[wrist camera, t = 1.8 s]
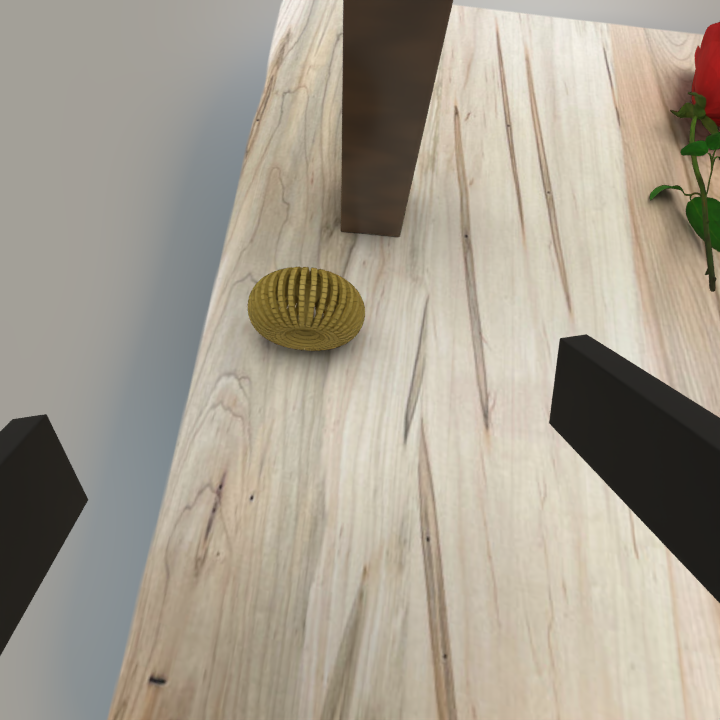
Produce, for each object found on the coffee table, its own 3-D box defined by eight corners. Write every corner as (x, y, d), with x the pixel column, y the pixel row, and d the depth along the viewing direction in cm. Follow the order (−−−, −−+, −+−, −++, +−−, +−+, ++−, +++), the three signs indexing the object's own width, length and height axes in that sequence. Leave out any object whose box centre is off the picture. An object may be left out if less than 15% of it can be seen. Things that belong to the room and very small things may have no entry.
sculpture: (255, 355, 33) (231, 310, 26) (261, 307, 35) (240, 250, 27) (360, 360, 34) (367, 318, 26) (362, 312, 35) (369, 258, 27)
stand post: (340, 231, 37) (353, -988, 7) (346, 183, 39) (374, -976, 8) (399, 237, 37) (666, -941, 7) (402, 188, 39) (629, -938, 9)
